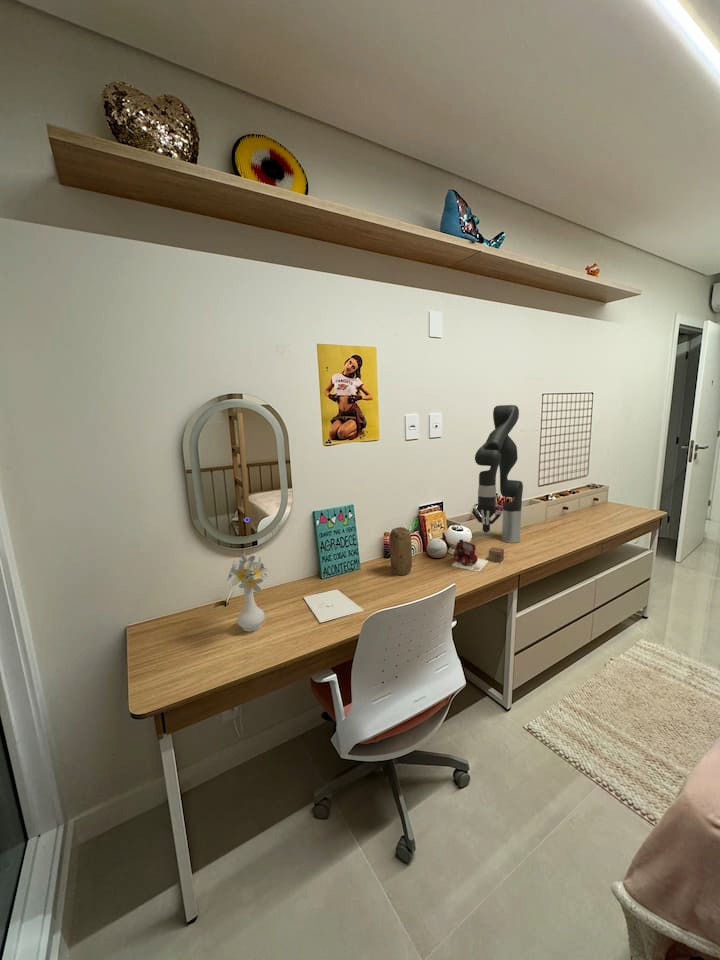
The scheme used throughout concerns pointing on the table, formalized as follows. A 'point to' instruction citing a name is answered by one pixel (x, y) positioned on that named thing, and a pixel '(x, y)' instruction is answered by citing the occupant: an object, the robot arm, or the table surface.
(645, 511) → the table surface
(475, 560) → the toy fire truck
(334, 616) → the paper sheet
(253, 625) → the flower vase
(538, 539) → the table surface
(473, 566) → the letter
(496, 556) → the cube
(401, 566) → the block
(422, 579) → the table surface
